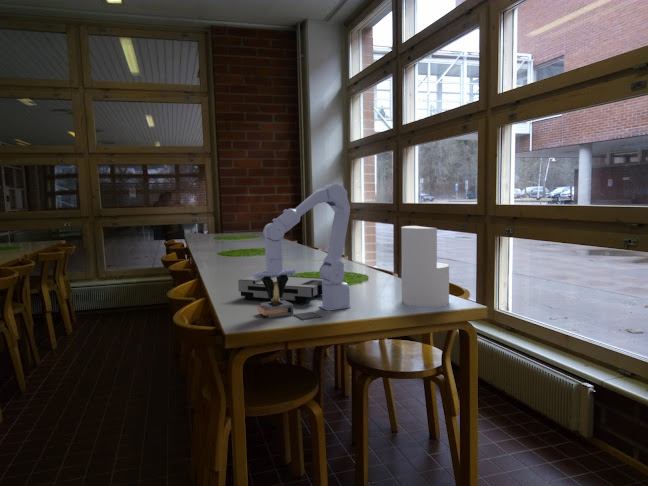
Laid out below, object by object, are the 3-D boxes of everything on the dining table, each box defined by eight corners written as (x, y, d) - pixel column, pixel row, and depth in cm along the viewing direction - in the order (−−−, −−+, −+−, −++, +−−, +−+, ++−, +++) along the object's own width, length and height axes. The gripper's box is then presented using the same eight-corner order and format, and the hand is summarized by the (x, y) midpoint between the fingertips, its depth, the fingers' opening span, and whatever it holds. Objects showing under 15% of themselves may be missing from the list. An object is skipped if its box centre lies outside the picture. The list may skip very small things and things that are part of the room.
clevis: (284, 309, 163) (284, 299, 163) (293, 314, 156) (293, 304, 156) (256, 313, 159) (256, 303, 158) (264, 318, 152) (264, 308, 151)
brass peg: (278, 306, 159) (277, 280, 159) (281, 308, 157) (280, 282, 156) (270, 307, 158) (269, 281, 157) (273, 309, 155) (272, 282, 155)
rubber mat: (312, 312, 158) (312, 311, 158) (321, 317, 152) (321, 315, 152) (293, 315, 155) (293, 314, 155) (302, 320, 149) (302, 318, 149)
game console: (311, 306, 168) (311, 284, 168) (239, 300, 182) (238, 280, 181) (334, 295, 187) (333, 275, 187) (266, 290, 201) (266, 272, 200)
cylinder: (414, 308, 161) (414, 229, 159) (394, 298, 178) (393, 226, 175) (458, 304, 166) (458, 227, 163) (434, 295, 183) (434, 225, 180)
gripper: (257, 261, 149) (259, 302, 150) (298, 258, 156) (299, 297, 157) (250, 259, 155) (252, 298, 157) (290, 256, 162) (291, 293, 163)
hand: (275, 297), depth 157 cm, fingers closed on brass peg, 3 cm apart
